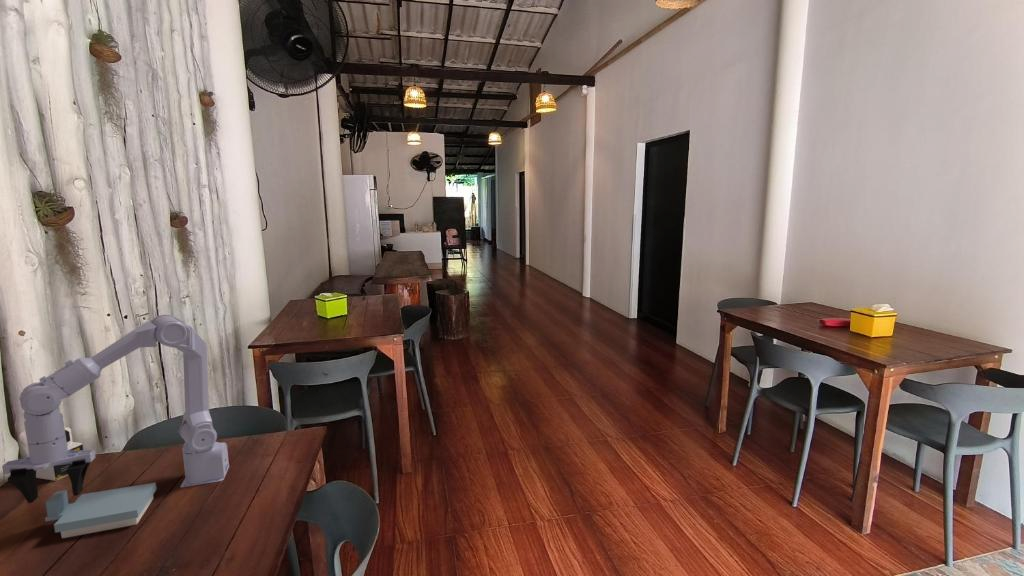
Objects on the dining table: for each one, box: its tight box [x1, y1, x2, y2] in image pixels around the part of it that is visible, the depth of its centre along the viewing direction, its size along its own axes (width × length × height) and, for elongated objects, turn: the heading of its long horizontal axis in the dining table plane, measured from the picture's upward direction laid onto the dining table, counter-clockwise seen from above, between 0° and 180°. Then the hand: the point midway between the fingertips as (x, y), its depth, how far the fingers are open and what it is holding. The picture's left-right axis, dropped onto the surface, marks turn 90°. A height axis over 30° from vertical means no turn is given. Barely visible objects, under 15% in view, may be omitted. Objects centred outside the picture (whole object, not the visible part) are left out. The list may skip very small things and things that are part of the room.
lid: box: [44, 482, 157, 533], centre depth 102 cm, size 17×11×5 cm, turn 111°
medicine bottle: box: [36, 426, 84, 482], centre depth 121 cm, size 7×7×12 cm
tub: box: [60, 494, 154, 539], centre depth 103 cm, size 13×10×4 cm
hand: (55, 496), depth 99 cm, fingers open, 7 cm apart
